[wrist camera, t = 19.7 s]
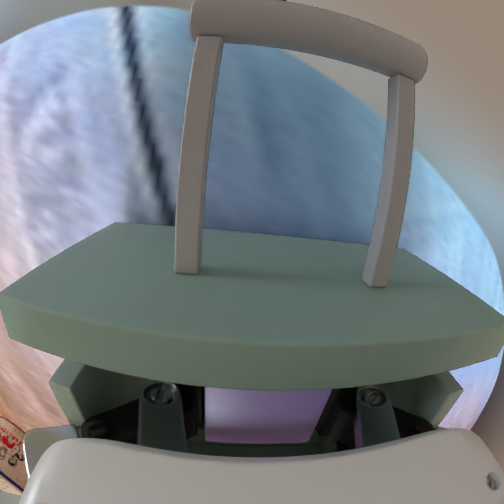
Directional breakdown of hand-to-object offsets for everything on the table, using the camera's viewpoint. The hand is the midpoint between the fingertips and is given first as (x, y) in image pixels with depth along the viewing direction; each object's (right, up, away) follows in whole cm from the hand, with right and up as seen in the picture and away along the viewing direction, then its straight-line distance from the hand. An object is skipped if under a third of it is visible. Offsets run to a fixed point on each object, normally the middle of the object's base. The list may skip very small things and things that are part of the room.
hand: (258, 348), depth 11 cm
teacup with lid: (-35, -22, +8) cm, 42 cm away
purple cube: (0, 0, 0) cm, 0 cm away
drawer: (0, +1, +1) cm, 2 cm away
